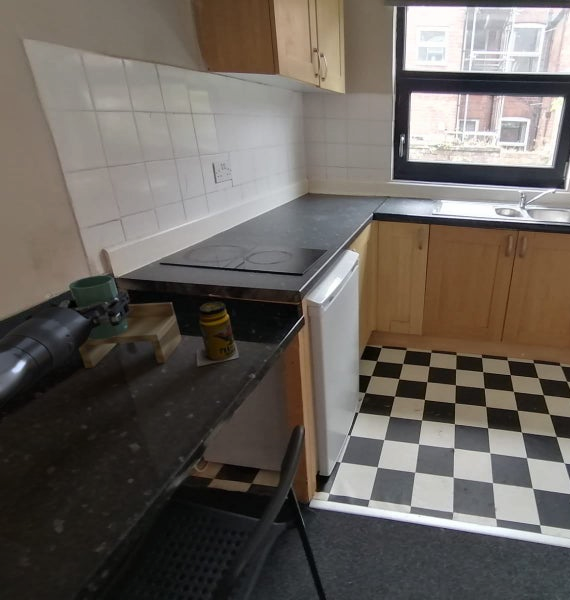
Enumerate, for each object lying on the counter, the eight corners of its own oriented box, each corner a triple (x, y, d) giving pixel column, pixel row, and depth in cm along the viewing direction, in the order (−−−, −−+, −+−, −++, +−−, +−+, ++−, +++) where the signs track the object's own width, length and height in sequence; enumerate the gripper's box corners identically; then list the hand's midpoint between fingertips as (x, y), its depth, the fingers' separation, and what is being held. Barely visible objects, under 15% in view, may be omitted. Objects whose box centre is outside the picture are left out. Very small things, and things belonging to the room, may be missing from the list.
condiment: (239, 358, 89) (229, 309, 84) (197, 367, 86) (184, 317, 81) (235, 343, 95) (226, 296, 90) (196, 351, 92) (184, 303, 87)
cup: (79, 336, 74) (60, 286, 70) (111, 321, 80) (95, 273, 75) (104, 341, 72) (87, 290, 68) (136, 325, 78) (121, 277, 74)
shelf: (85, 368, 86) (69, 326, 81) (110, 344, 95) (97, 305, 90) (165, 362, 87) (153, 321, 83) (181, 339, 96) (172, 302, 92)
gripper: (89, 315, 60) (140, 276, 75) (-18, 321, 58) (56, 280, 73) (104, 358, 63) (151, 312, 78) (3, 365, 61) (70, 316, 76)
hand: (105, 297), depth 75 cm, fingers closed on cup, 6 cm apart
